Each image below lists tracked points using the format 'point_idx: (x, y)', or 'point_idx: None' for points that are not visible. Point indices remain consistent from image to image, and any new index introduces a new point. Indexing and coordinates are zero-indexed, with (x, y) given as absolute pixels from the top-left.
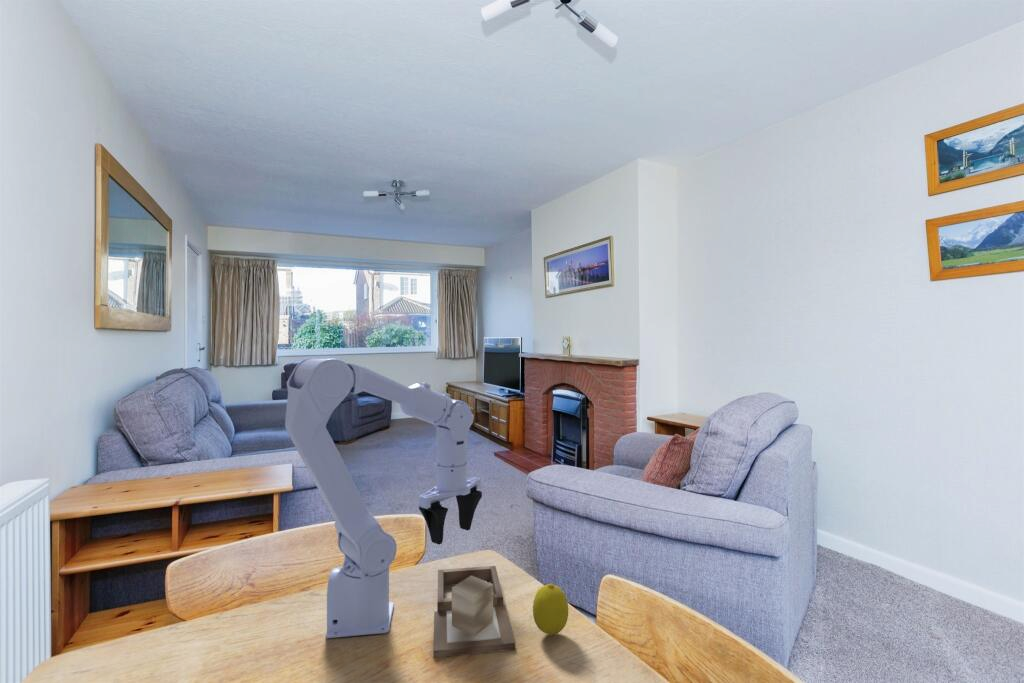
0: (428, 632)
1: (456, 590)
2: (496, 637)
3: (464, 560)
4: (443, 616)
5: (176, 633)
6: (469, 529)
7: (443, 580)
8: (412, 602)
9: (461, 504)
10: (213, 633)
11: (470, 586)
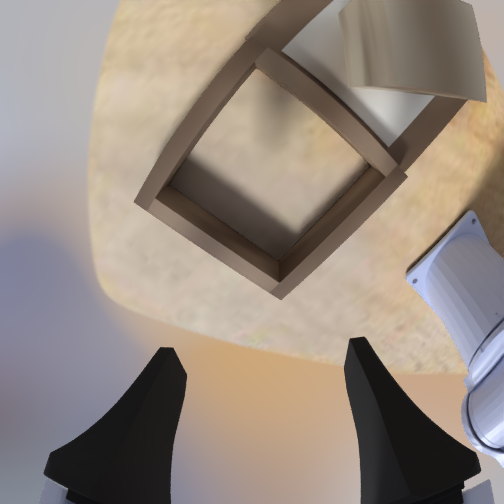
0: (435, 142)
1: (482, 80)
2: None
3: (162, 305)
4: (403, 140)
5: None
6: (162, 348)
7: (277, 268)
8: (376, 256)
9: (161, 463)
10: None
11: (449, 41)
